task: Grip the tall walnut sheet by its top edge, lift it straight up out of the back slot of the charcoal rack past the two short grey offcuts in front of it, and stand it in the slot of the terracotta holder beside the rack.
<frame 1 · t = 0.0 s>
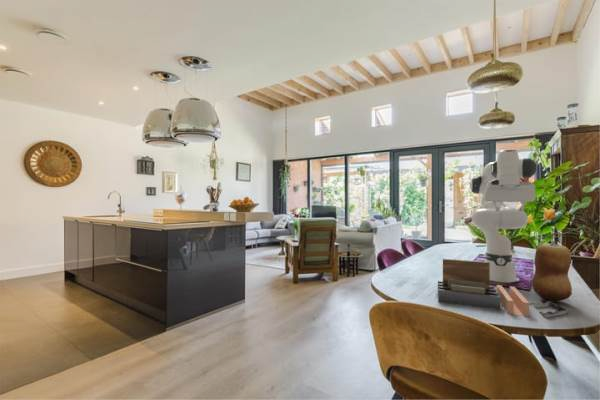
hand: (508, 211, 140), 39 cm above the table, tool pointing down, fingers open, 8 cm apart
offcut a: (466, 299, 126), point 1 cm above the table, touching rack
butternut squash: (550, 301, 128), on the table
offcut b: (467, 303, 122), point 1 cm above the table, touching rack
holder: (511, 308, 119), on the table
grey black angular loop: (546, 313, 116), on the table
rack: (466, 303, 126), on the table
tall sheet: (465, 296, 130), point 1 cm above the table, touching rack
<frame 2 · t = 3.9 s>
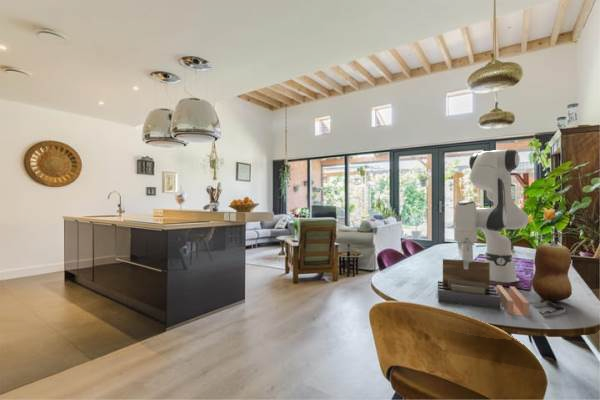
hand: (465, 268, 130), 14 cm above the table, tool pointing down, fingers closed on tall sheet, 2 cm apart
tall sheet: (465, 296, 130), point 2 cm above the table, touching gripper, rack
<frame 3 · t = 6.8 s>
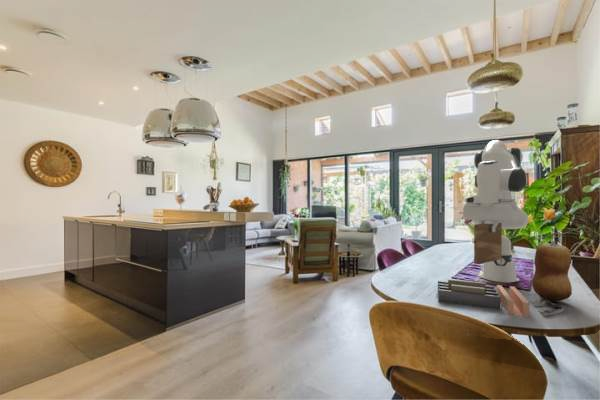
hand: (488, 231, 124), 31 cm above the table, tool pointing down, fingers closed on tall sheet
tall sheet: (488, 261, 124), point 18 cm above the table, touching gripper
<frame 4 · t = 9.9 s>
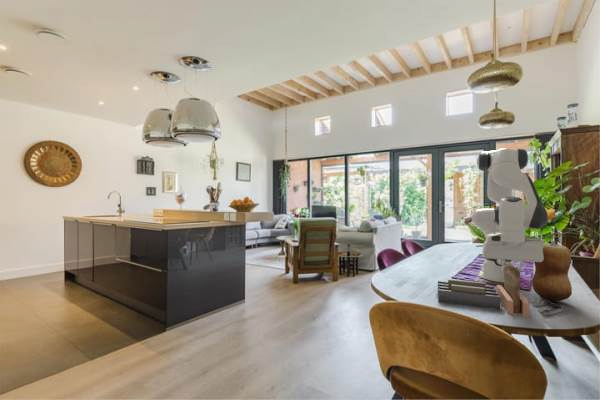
hand: (511, 270, 119), 16 cm above the table, tool pointing down, fingers open, 3 cm apart
tall sheet: (511, 305, 119), point 2 cm above the table, touching holder
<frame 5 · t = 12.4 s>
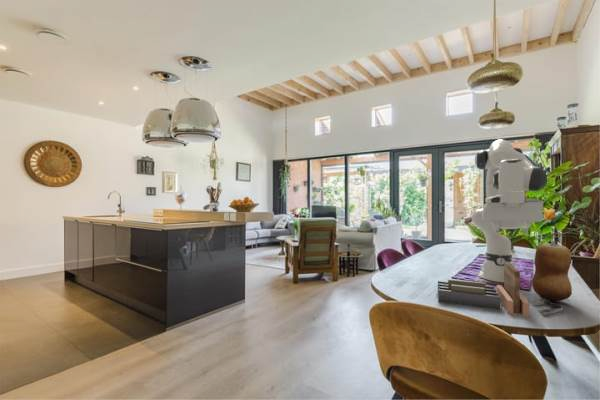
hand: (510, 232, 120), 31 cm above the table, tool pointing down, fingers open, 8 cm apart
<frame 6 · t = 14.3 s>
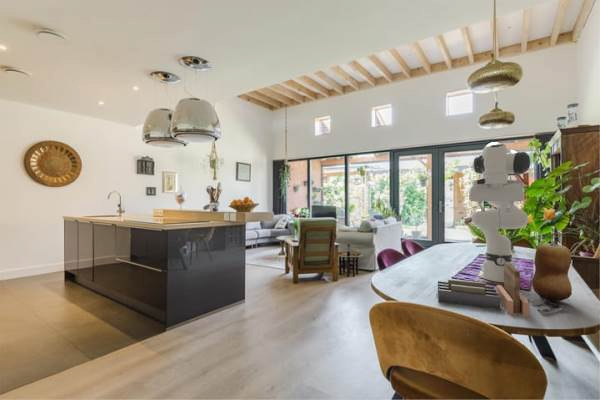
hand: (495, 211, 130), 39 cm above the table, tool pointing down, fingers open, 8 cm apart
at the end: tall sheet 0.1 cm off-centre on the holder, point 1.5 cm above the holder's base; tall sheet tilted 0°; the gripper is holding nothing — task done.
